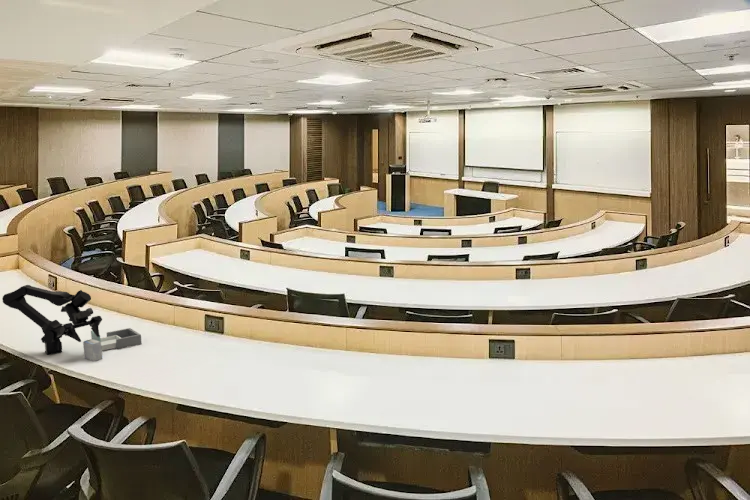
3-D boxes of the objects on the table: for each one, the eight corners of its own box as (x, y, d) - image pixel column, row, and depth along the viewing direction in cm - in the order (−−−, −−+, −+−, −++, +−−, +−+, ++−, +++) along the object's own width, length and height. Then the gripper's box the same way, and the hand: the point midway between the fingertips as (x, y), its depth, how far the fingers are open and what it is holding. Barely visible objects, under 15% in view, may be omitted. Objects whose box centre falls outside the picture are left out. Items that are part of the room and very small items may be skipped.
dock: (117, 349, 280) (116, 339, 280) (107, 341, 292) (106, 332, 291) (141, 344, 288) (140, 334, 288) (130, 336, 300) (130, 327, 299)
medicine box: (102, 358, 267) (101, 341, 266) (93, 361, 264) (92, 344, 262) (93, 355, 271) (91, 338, 270) (84, 358, 268) (82, 341, 266)
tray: (99, 351, 276) (98, 336, 275) (91, 345, 286) (90, 330, 284) (125, 345, 285) (124, 330, 283) (117, 339, 294) (115, 325, 293)
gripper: (60, 308, 260) (76, 334, 256) (98, 299, 275) (113, 324, 271) (53, 321, 265) (68, 348, 261) (90, 312, 281) (105, 337, 277)
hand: (89, 338), depth 267 cm, fingers open, 9 cm apart
